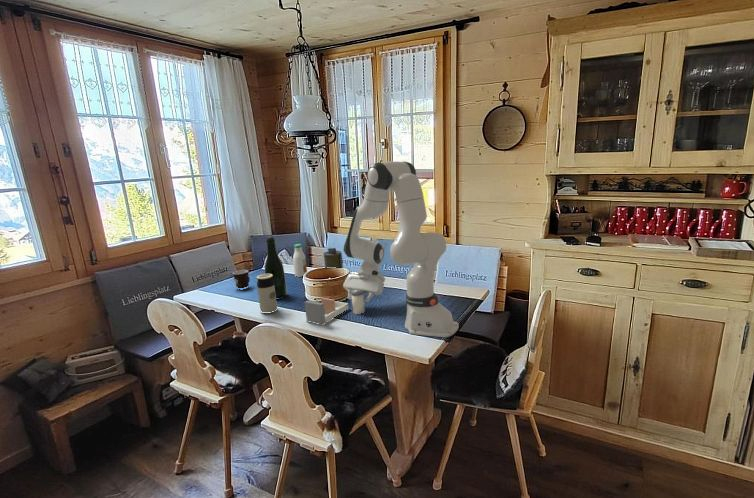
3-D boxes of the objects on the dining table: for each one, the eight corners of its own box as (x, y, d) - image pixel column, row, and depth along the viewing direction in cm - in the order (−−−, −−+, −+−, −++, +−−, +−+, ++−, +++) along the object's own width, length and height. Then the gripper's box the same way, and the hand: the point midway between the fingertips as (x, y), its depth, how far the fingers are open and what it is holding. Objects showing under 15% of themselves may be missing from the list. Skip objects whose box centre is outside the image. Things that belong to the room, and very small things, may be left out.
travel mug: (257, 311, 198) (252, 276, 193) (272, 306, 203) (267, 272, 199) (266, 315, 192) (261, 279, 188) (280, 310, 197) (276, 275, 193)
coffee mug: (234, 287, 237) (232, 271, 235) (249, 285, 241) (247, 268, 238) (236, 293, 227) (234, 276, 224) (252, 290, 230) (250, 273, 228)
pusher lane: (348, 309, 193) (347, 290, 191) (322, 325, 177) (320, 304, 175) (333, 306, 198) (331, 288, 196) (306, 322, 182) (304, 302, 179)
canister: (322, 283, 235) (319, 250, 231) (332, 278, 244) (329, 245, 240) (338, 285, 230) (335, 251, 226) (347, 279, 239) (345, 246, 235)
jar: (367, 310, 190) (365, 289, 188) (360, 315, 185) (359, 293, 183) (357, 309, 193) (355, 288, 191) (350, 313, 188) (348, 291, 186)
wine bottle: (264, 297, 218) (256, 237, 210) (281, 292, 224) (274, 233, 217) (273, 301, 210) (265, 239, 202) (291, 296, 217) (284, 236, 209)
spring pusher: (335, 313, 187) (334, 299, 185) (334, 314, 186) (332, 300, 184) (324, 311, 190) (322, 297, 188) (322, 312, 189) (321, 298, 187)
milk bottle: (300, 278, 248) (297, 246, 243) (292, 276, 253) (288, 245, 248) (309, 274, 254) (306, 243, 249) (301, 273, 259) (298, 242, 254)
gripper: (346, 268, 197) (336, 294, 191) (383, 273, 186) (373, 300, 180) (352, 275, 201) (342, 300, 195) (388, 279, 191) (378, 306, 185)
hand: (357, 300), depth 188 cm, fingers open, 8 cm apart
